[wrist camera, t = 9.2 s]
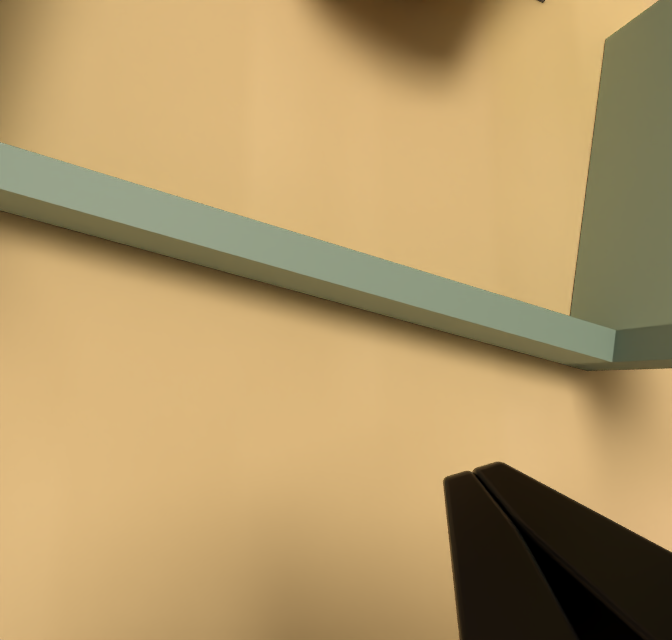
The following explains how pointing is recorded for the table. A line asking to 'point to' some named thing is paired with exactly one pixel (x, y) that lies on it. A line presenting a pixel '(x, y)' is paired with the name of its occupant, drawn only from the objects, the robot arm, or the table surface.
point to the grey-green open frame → (421, 287)
